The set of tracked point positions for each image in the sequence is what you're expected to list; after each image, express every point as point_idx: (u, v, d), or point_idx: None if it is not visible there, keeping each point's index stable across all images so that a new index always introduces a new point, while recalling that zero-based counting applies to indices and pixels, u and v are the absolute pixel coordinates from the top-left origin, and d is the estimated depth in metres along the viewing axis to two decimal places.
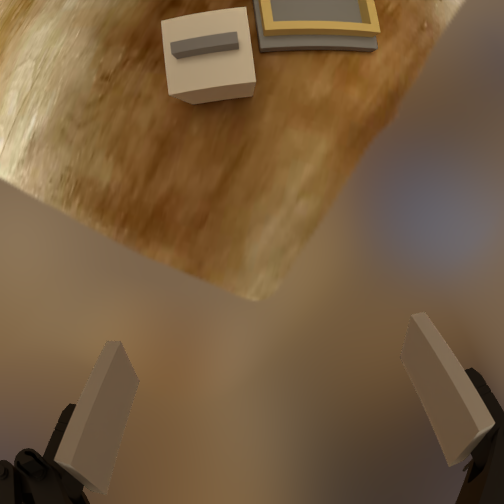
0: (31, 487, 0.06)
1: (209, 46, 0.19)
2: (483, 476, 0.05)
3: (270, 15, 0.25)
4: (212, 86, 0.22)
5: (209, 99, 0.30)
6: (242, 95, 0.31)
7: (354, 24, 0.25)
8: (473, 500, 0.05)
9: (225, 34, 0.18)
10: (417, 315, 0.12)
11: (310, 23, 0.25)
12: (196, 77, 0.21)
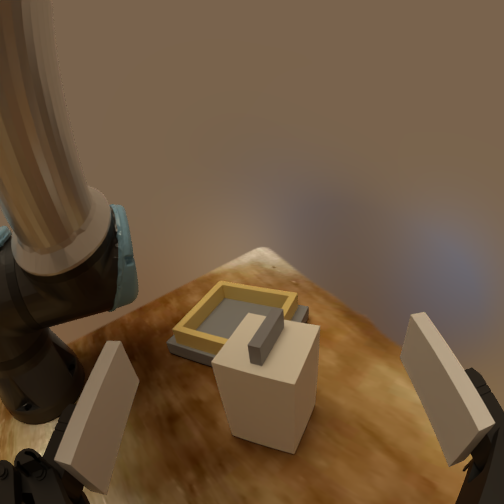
0: (31, 487, 0.06)
1: (274, 324, 0.24)
2: (483, 476, 0.05)
3: None
4: (308, 352, 0.24)
5: (302, 423, 0.27)
6: (312, 400, 0.30)
7: (285, 304, 0.42)
8: (473, 500, 0.05)
9: (270, 313, 0.26)
10: (417, 315, 0.12)
11: None
12: (291, 359, 0.23)
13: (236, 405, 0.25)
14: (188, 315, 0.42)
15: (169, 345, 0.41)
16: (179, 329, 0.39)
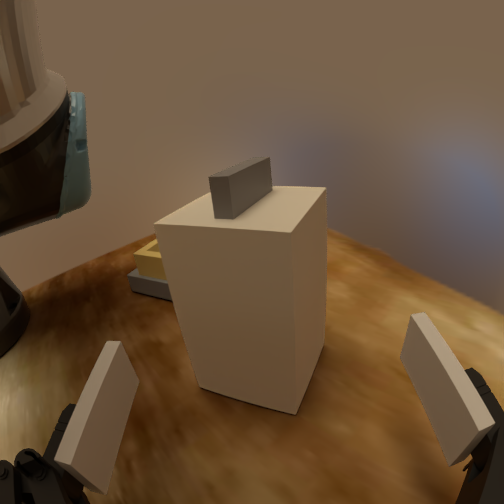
0: (31, 487, 0.06)
1: (254, 164, 0.15)
2: (483, 476, 0.05)
3: None
4: (311, 206, 0.15)
5: (307, 360, 0.18)
6: (321, 330, 0.21)
7: None
8: (473, 500, 0.05)
9: (249, 159, 0.17)
10: (417, 315, 0.12)
11: None
12: (284, 211, 0.14)
13: (197, 316, 0.16)
14: (156, 240, 0.33)
15: (130, 279, 0.32)
16: (141, 253, 0.30)
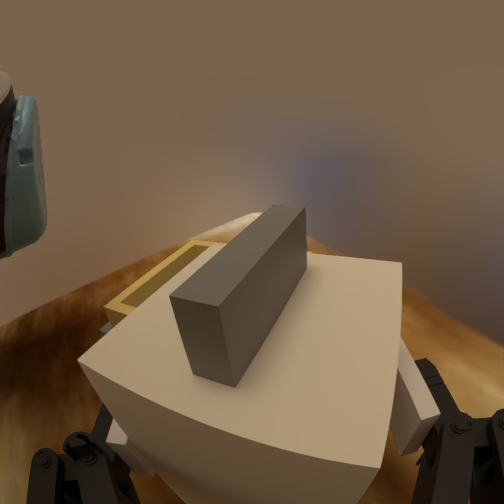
0: (77, 471, 0.07)
1: (280, 235, 0.07)
2: (433, 472, 0.06)
3: None
4: (397, 332, 0.07)
5: None
6: None
7: None
8: (426, 497, 0.05)
9: (266, 214, 0.08)
10: None
11: None
12: (349, 359, 0.06)
13: (179, 477, 0.08)
14: (133, 286, 0.25)
15: (103, 335, 0.24)
16: (113, 307, 0.22)
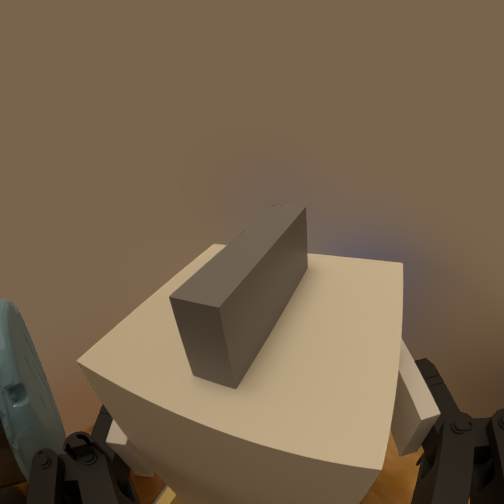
0: (77, 471, 0.07)
1: (281, 236, 0.07)
2: (433, 472, 0.06)
3: None
4: (398, 333, 0.06)
5: None
6: None
7: None
8: (427, 497, 0.05)
9: (267, 214, 0.08)
10: None
11: None
12: (350, 360, 0.06)
13: (179, 478, 0.08)
14: None
15: None
16: None
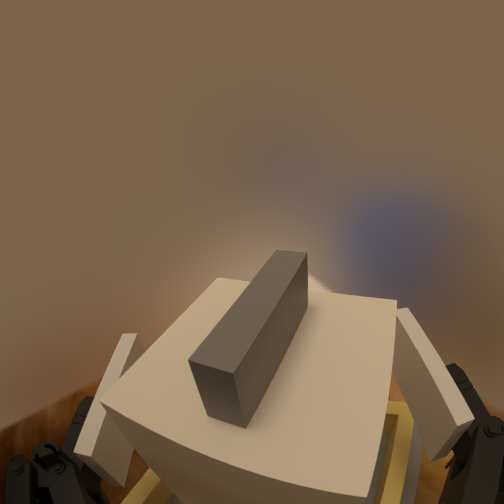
0: (48, 480, 0.06)
1: (285, 291, 0.08)
2: (464, 474, 0.05)
3: None
4: (388, 374, 0.07)
5: None
6: None
7: (398, 443, 0.13)
8: (456, 498, 0.05)
9: (271, 262, 0.09)
10: (399, 311, 0.12)
11: None
12: (344, 401, 0.07)
13: (190, 493, 0.09)
14: (149, 477, 0.13)
15: None
16: None
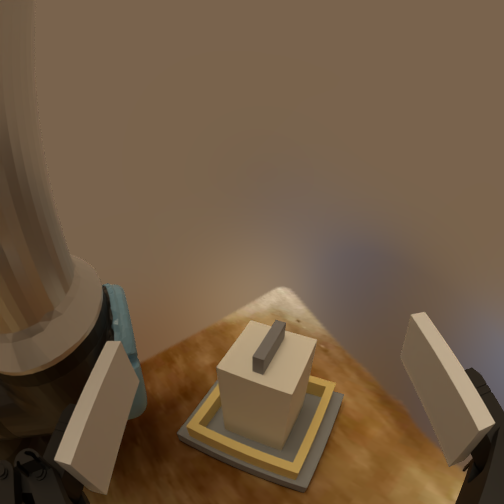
0: (31, 487, 0.06)
1: (277, 337, 0.26)
2: (483, 476, 0.05)
3: (284, 461, 0.26)
4: (305, 365, 0.26)
5: (291, 424, 0.29)
6: (301, 402, 0.32)
7: (323, 400, 0.32)
8: (473, 500, 0.05)
9: (273, 325, 0.27)
10: (417, 315, 0.12)
11: (309, 434, 0.28)
12: (290, 370, 0.25)
13: (234, 405, 0.28)
14: (204, 406, 0.32)
15: (180, 436, 0.31)
16: (195, 428, 0.29)
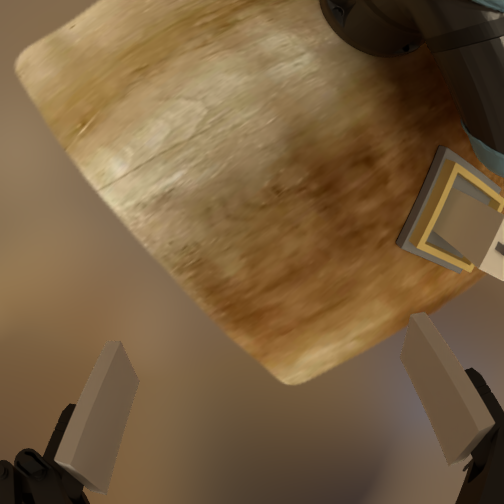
0: (31, 487, 0.06)
1: None
2: (483, 476, 0.05)
3: (426, 238, 0.37)
4: (493, 275, 0.29)
5: None
6: None
7: (462, 263, 0.39)
8: (473, 500, 0.05)
9: None
10: (417, 315, 0.12)
11: (441, 254, 0.38)
12: (492, 266, 0.28)
13: (474, 211, 0.31)
14: (470, 175, 0.33)
15: (444, 149, 0.35)
16: (454, 169, 0.33)
